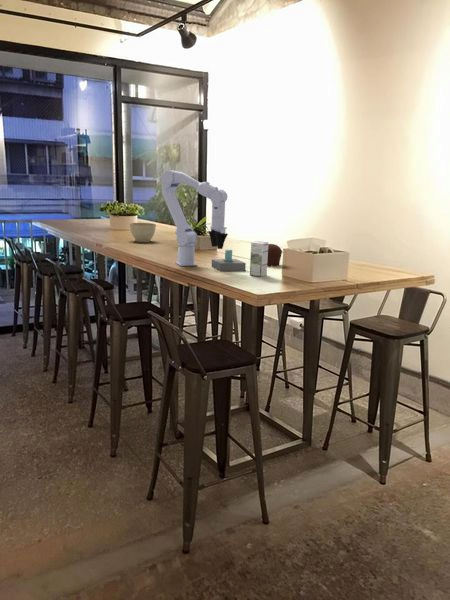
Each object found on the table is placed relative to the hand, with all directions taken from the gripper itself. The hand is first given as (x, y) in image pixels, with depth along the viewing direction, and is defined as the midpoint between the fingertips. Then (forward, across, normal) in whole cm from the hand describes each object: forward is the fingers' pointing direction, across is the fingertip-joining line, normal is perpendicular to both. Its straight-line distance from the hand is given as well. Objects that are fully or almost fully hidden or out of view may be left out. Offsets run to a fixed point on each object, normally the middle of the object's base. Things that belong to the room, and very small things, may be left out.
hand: (217, 247), depth 236 cm
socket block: (+9, -2, -5) cm, 11 cm away
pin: (+9, -2, -5) cm, 10 cm away
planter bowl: (+10, +101, +13) cm, 102 cm away
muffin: (+10, +6, -30) cm, 32 cm away
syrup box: (+10, -20, -12) cm, 25 cm away
